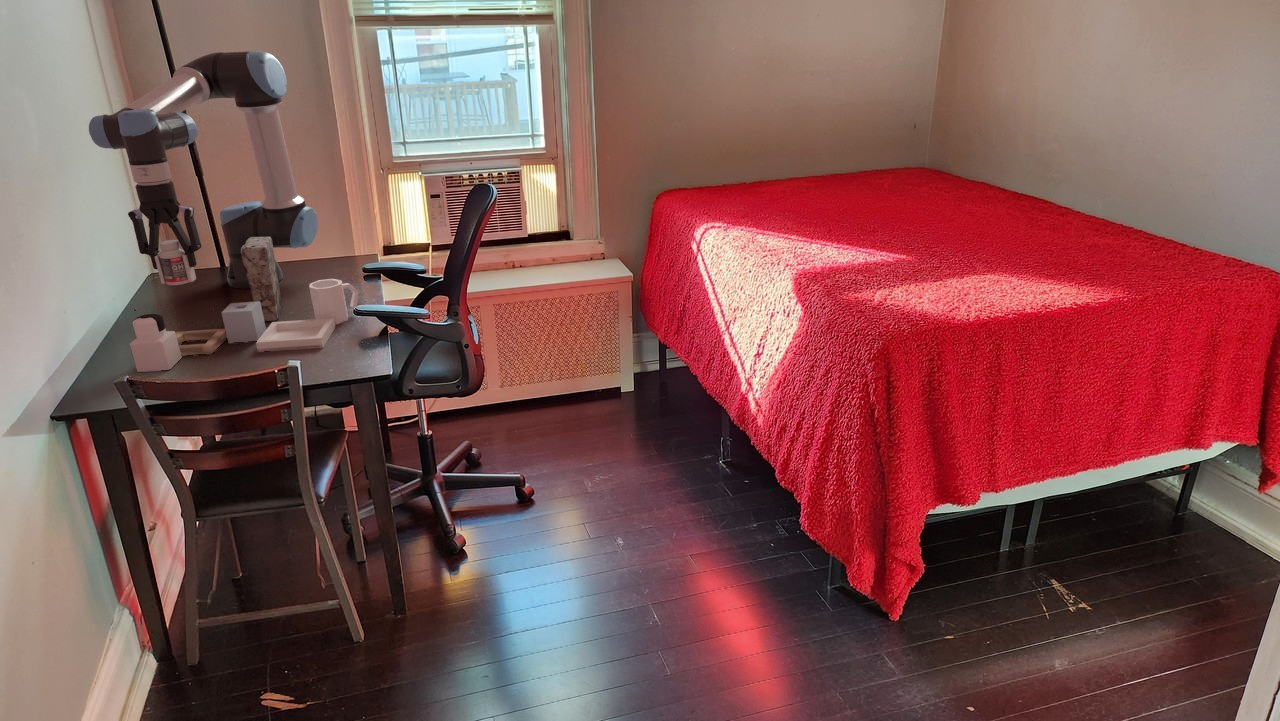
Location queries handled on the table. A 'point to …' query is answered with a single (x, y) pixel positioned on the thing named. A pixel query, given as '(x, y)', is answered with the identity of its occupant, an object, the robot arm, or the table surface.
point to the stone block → (262, 275)
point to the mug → (331, 299)
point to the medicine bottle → (154, 344)
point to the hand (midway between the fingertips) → (179, 280)
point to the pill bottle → (173, 263)
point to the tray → (296, 335)
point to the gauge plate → (213, 335)
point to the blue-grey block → (244, 321)
